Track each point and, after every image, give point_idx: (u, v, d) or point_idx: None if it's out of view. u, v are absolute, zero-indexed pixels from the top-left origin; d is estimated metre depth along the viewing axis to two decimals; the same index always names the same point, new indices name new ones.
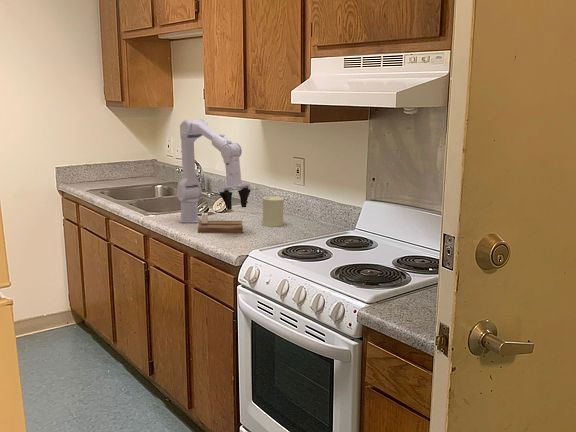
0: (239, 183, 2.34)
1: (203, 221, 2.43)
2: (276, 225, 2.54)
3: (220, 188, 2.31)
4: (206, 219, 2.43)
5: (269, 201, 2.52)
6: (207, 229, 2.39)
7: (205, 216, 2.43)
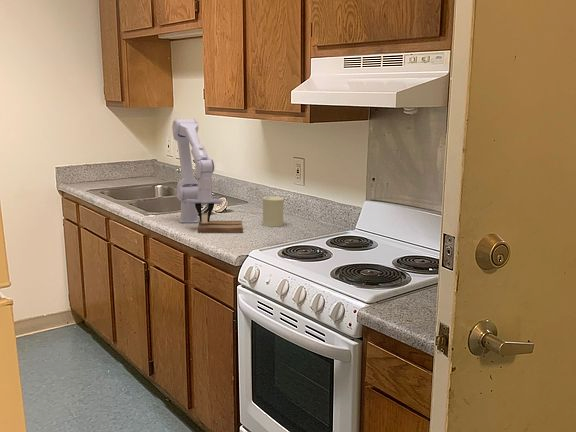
0: (205, 199, 2.41)
1: (203, 221, 2.43)
2: (276, 225, 2.54)
3: (186, 200, 2.43)
4: (206, 219, 2.43)
5: (269, 201, 2.52)
6: (207, 229, 2.39)
7: (205, 216, 2.43)
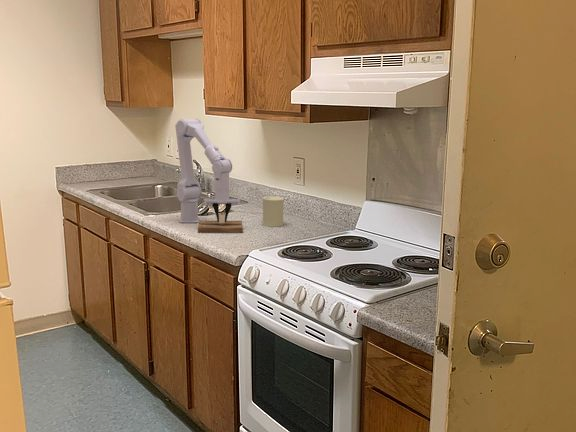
0: (222, 199, 2.42)
1: (220, 221, 2.44)
2: (276, 225, 2.54)
3: (204, 200, 2.44)
4: (223, 219, 2.44)
5: (269, 201, 2.52)
6: (207, 229, 2.39)
7: (223, 216, 2.44)
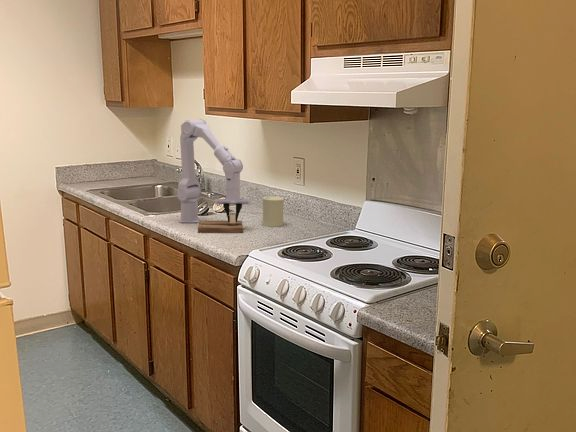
0: (233, 199, 2.42)
1: (231, 221, 2.45)
2: (276, 225, 2.54)
3: None
4: (234, 219, 2.45)
5: (269, 201, 2.52)
6: (207, 229, 2.39)
7: (233, 216, 2.44)
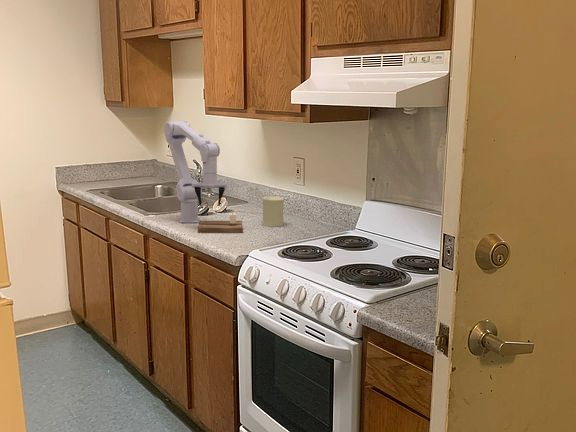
0: (210, 182, 2.43)
1: (231, 221, 2.45)
2: (276, 225, 2.54)
3: (191, 184, 2.45)
4: (234, 219, 2.45)
5: (269, 201, 2.52)
6: (207, 229, 2.39)
7: (234, 216, 2.44)
